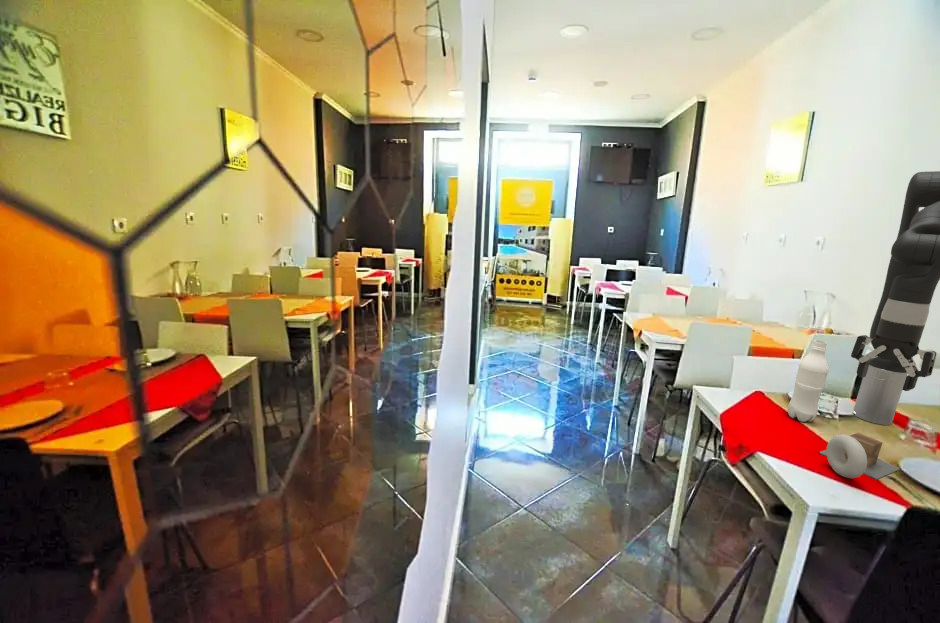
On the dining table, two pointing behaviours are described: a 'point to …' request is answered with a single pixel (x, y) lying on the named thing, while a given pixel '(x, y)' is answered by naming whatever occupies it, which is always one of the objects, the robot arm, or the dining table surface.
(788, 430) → the dining table surface
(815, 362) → the water bottle
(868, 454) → the walnut block
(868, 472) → the slate mat
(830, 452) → the donut
